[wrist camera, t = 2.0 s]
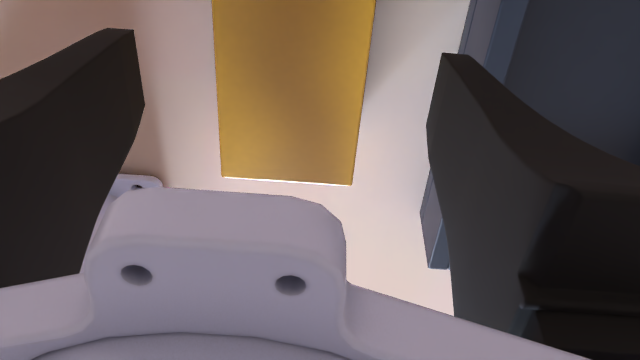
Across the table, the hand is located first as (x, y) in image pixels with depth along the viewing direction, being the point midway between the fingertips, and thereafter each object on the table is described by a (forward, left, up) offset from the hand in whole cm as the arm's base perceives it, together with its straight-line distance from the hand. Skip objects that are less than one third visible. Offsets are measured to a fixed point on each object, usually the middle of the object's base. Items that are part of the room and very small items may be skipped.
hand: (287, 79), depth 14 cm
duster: (0, 0, -7) cm, 7 cm away
